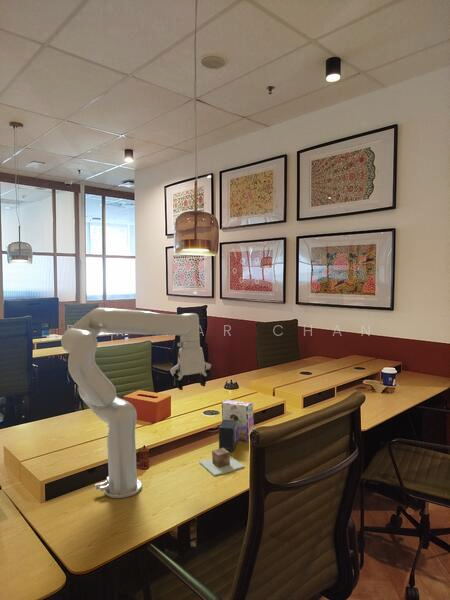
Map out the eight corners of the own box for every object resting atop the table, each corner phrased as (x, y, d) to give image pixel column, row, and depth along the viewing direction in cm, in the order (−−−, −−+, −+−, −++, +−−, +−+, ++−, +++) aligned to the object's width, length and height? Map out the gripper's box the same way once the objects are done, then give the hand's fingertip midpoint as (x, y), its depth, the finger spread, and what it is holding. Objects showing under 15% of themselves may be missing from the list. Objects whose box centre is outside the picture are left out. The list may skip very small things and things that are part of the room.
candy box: (254, 438, 186) (253, 402, 185) (248, 442, 181) (247, 406, 180) (228, 432, 193) (227, 398, 193) (222, 437, 188) (221, 402, 188)
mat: (214, 476, 150) (214, 474, 150) (199, 463, 162) (199, 461, 162) (244, 467, 157) (244, 466, 156) (227, 455, 168) (227, 454, 168)
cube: (218, 468, 156) (218, 455, 155) (212, 463, 160) (212, 450, 160) (229, 464, 158) (229, 452, 158) (223, 460, 162) (223, 447, 162)
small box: (233, 452, 171) (233, 428, 170) (218, 451, 172) (217, 427, 172) (238, 442, 181) (237, 419, 181) (223, 442, 182) (223, 419, 182)
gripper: (173, 348, 153) (174, 393, 154) (214, 343, 161) (215, 386, 162) (166, 345, 159) (167, 388, 160) (205, 341, 168) (207, 382, 168)
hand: (191, 387), depth 161 cm, fingers open, 9 cm apart
